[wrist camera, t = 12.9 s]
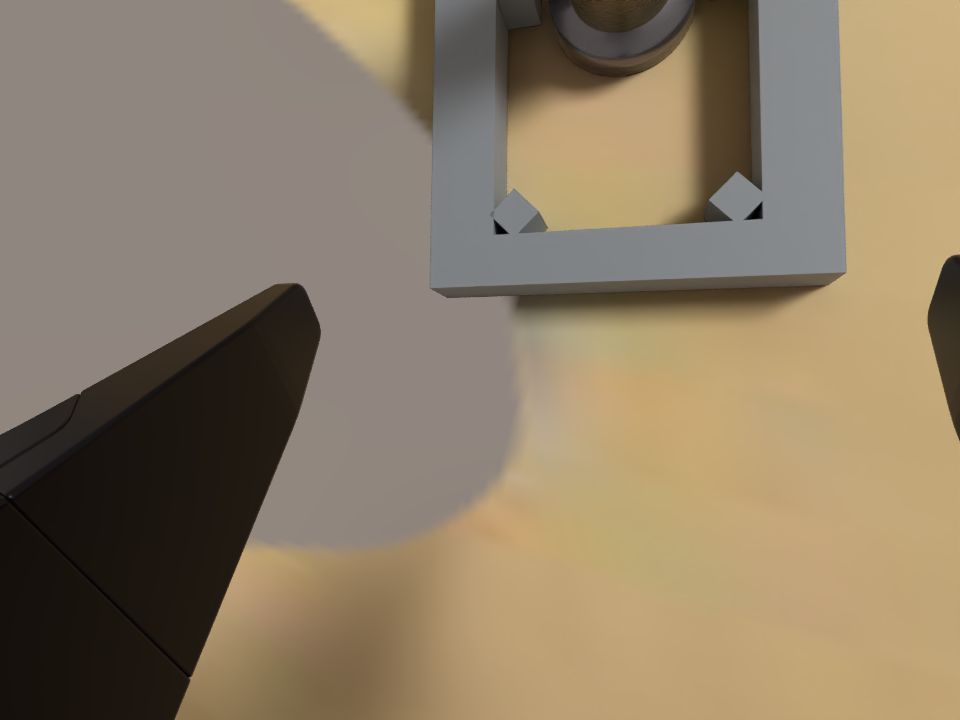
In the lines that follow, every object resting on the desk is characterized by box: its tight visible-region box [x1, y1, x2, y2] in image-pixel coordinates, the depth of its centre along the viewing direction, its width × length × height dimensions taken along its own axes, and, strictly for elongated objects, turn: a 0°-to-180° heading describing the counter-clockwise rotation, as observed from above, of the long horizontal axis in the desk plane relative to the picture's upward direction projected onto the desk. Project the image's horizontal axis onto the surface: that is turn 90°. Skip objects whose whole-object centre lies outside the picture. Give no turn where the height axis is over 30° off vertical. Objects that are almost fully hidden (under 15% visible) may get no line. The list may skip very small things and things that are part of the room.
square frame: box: [430, 0, 846, 298], centre depth 22 cm, size 16×13×2 cm
